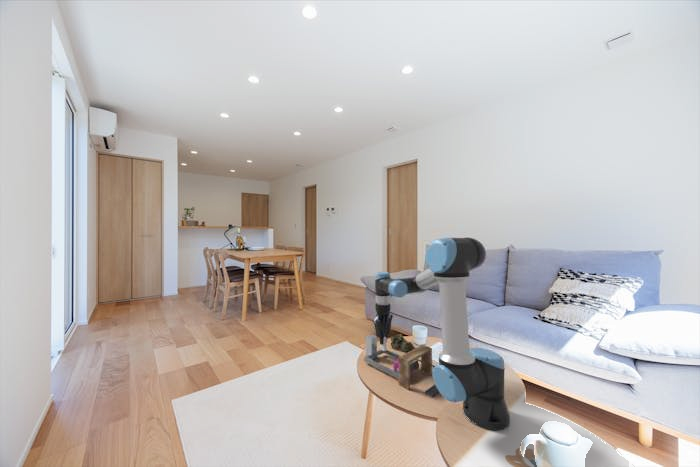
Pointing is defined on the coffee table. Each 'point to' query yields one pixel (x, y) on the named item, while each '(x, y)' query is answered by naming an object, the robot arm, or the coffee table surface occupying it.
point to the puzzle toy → (396, 366)
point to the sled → (373, 353)
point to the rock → (401, 343)
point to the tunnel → (410, 357)
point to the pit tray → (432, 391)
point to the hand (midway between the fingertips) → (383, 349)
